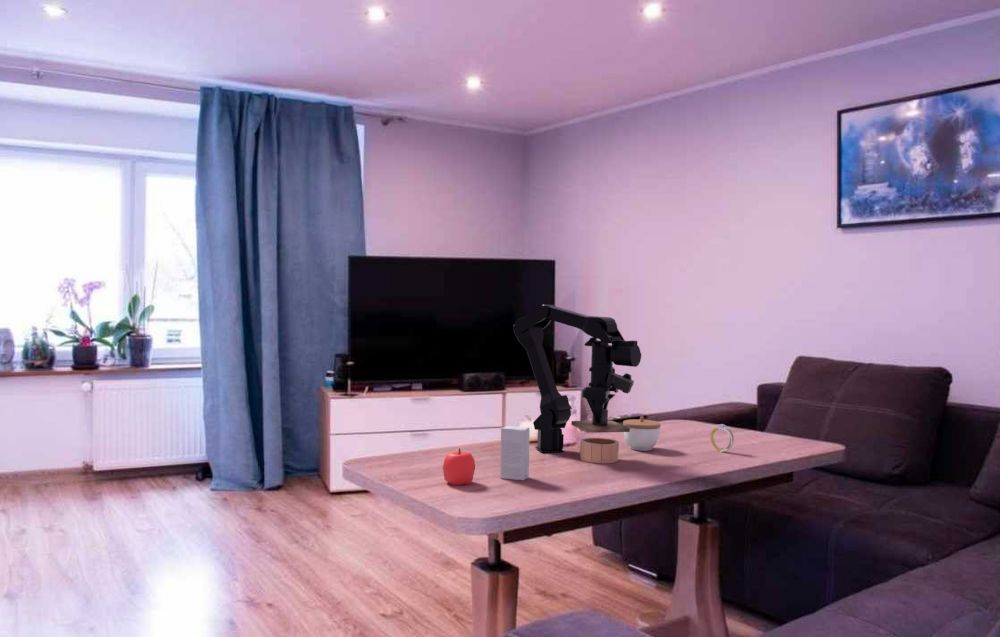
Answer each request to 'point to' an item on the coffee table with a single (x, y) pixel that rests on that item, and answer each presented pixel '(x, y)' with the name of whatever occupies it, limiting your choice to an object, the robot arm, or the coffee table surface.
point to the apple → (459, 468)
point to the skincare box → (514, 453)
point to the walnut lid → (600, 425)
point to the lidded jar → (642, 433)
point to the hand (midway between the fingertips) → (599, 421)
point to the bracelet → (731, 437)
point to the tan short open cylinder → (599, 450)
